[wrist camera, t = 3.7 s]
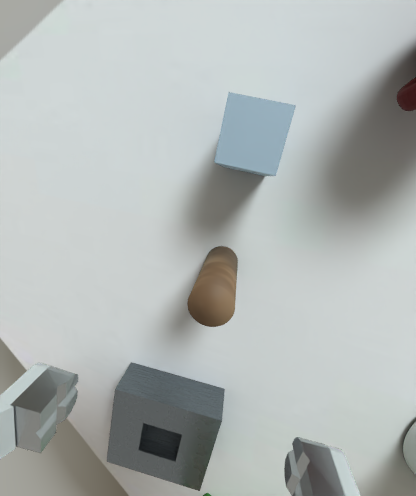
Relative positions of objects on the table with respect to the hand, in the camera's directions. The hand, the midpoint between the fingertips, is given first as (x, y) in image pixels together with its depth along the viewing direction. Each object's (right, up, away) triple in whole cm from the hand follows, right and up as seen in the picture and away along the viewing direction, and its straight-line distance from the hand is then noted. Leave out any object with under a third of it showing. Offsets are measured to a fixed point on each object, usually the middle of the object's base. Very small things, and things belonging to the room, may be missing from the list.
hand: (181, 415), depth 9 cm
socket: (-4, -15, +23) cm, 28 cm away
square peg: (+5, +15, +13) cm, 20 cm away
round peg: (+2, +5, +16) cm, 17 cm away
